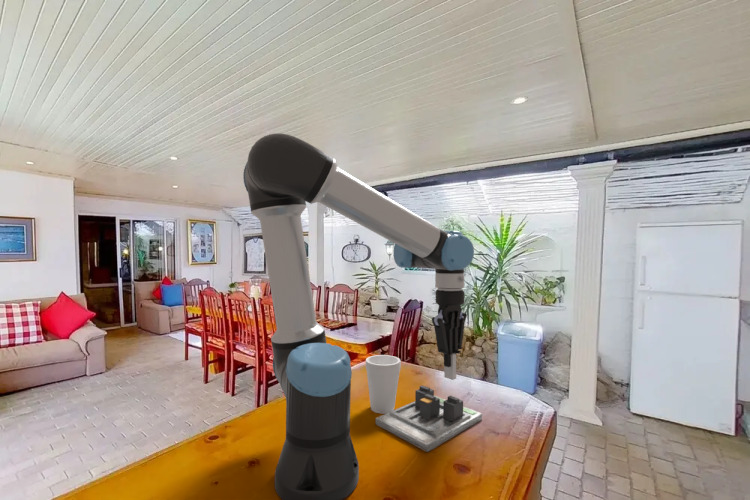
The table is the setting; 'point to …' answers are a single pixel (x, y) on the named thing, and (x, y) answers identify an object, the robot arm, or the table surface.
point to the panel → (425, 425)
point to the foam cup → (382, 382)
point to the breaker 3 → (452, 408)
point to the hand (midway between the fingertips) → (450, 377)
